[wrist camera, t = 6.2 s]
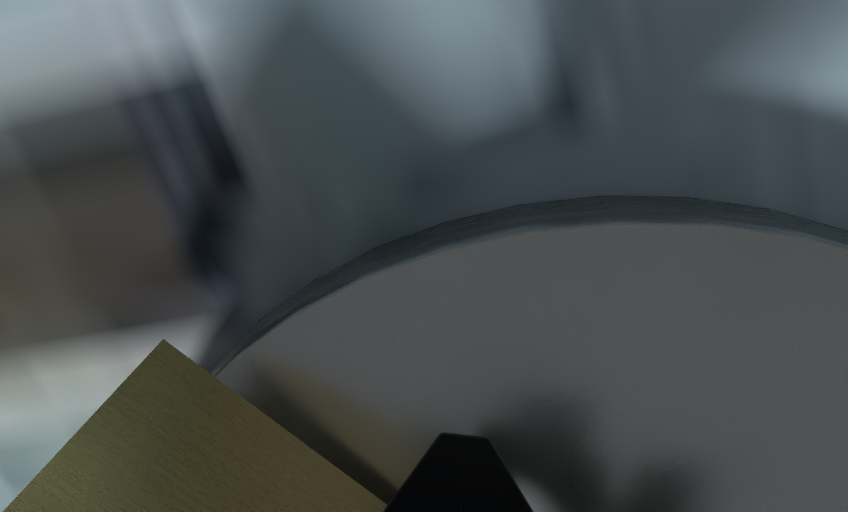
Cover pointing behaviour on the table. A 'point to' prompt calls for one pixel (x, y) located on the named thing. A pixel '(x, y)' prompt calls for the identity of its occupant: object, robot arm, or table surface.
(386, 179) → the table surface
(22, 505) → the gold crown with post
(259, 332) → the grey round tray
